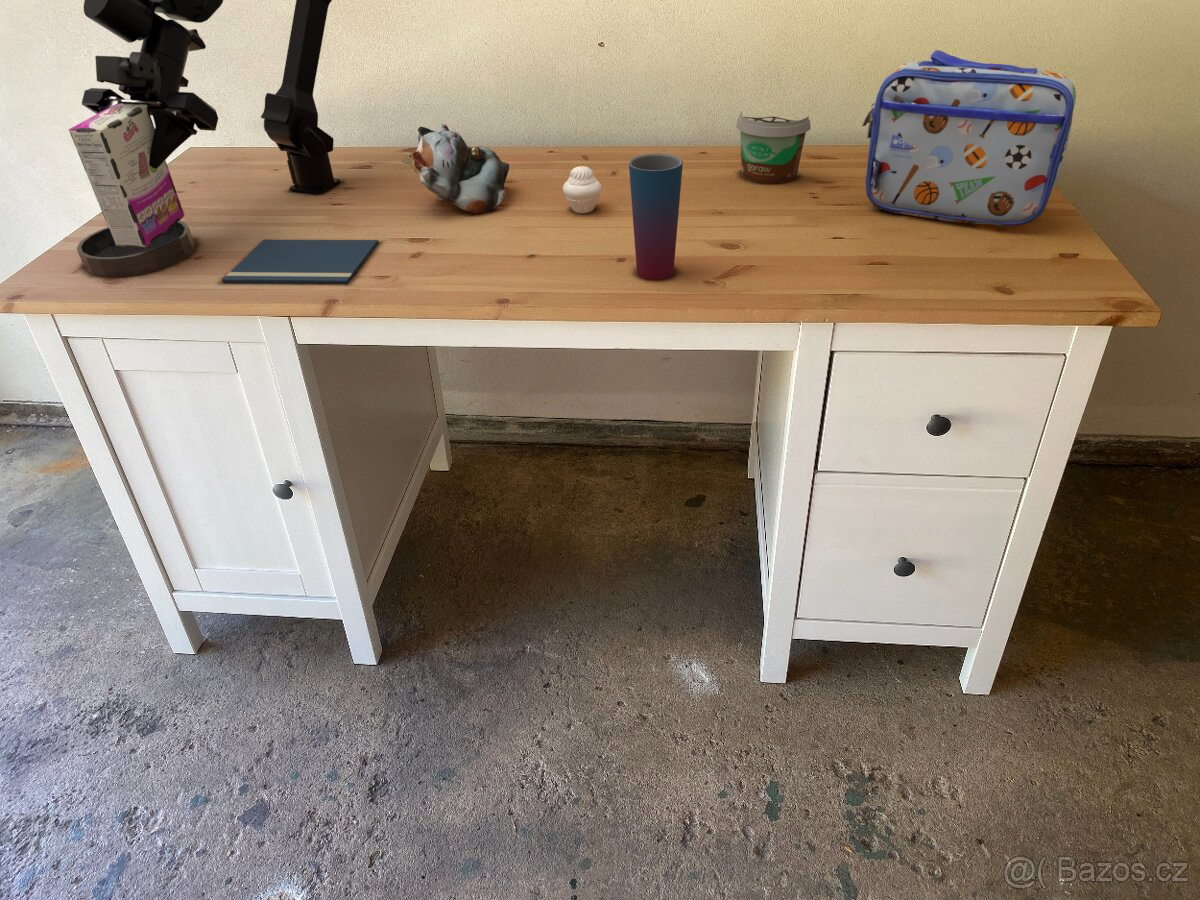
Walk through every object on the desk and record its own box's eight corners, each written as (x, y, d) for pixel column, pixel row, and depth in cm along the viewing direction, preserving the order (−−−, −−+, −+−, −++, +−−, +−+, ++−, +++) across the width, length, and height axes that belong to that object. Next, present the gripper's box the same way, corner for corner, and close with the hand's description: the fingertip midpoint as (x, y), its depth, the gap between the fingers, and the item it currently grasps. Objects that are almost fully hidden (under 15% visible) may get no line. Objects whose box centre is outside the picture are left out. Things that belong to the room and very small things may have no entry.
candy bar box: (154, 215, 125) (115, 102, 115) (186, 217, 125) (149, 103, 115) (112, 247, 117) (65, 127, 106) (145, 249, 116) (102, 128, 106)
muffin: (572, 201, 136) (569, 158, 132) (607, 204, 134) (606, 161, 130) (558, 215, 131) (555, 170, 127) (594, 218, 130) (592, 173, 126)
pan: (216, 241, 128) (210, 223, 126) (141, 282, 117) (133, 264, 115) (140, 230, 133) (133, 213, 131) (61, 270, 121) (52, 252, 120)
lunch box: (845, 211, 128) (867, 57, 115) (862, 189, 135) (885, 42, 122) (1039, 239, 117) (1088, 72, 104) (1046, 214, 124) (1093, 55, 111)
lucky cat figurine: (498, 217, 131) (445, 145, 122) (440, 239, 137) (385, 172, 128) (520, 160, 140) (472, 89, 131) (464, 183, 146) (414, 116, 137)
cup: (627, 263, 116) (625, 154, 107) (675, 260, 116) (678, 151, 107) (633, 284, 111) (631, 172, 102) (684, 281, 111) (687, 168, 102)
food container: (725, 182, 141) (728, 120, 135) (734, 170, 145) (738, 110, 139) (798, 189, 137) (804, 126, 131) (805, 176, 141) (812, 115, 135)
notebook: (378, 242, 125) (377, 239, 125) (347, 283, 114) (346, 280, 114) (264, 242, 127) (263, 239, 127) (222, 282, 116) (221, 279, 116)
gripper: (62, 25, 113) (34, 134, 112) (174, 28, 108) (146, 141, 107) (126, 72, 124) (102, 171, 122) (231, 76, 119) (207, 180, 117)
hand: (136, 165), depth 117 cm, fingers closed on candy bar box, 5 cm apart
